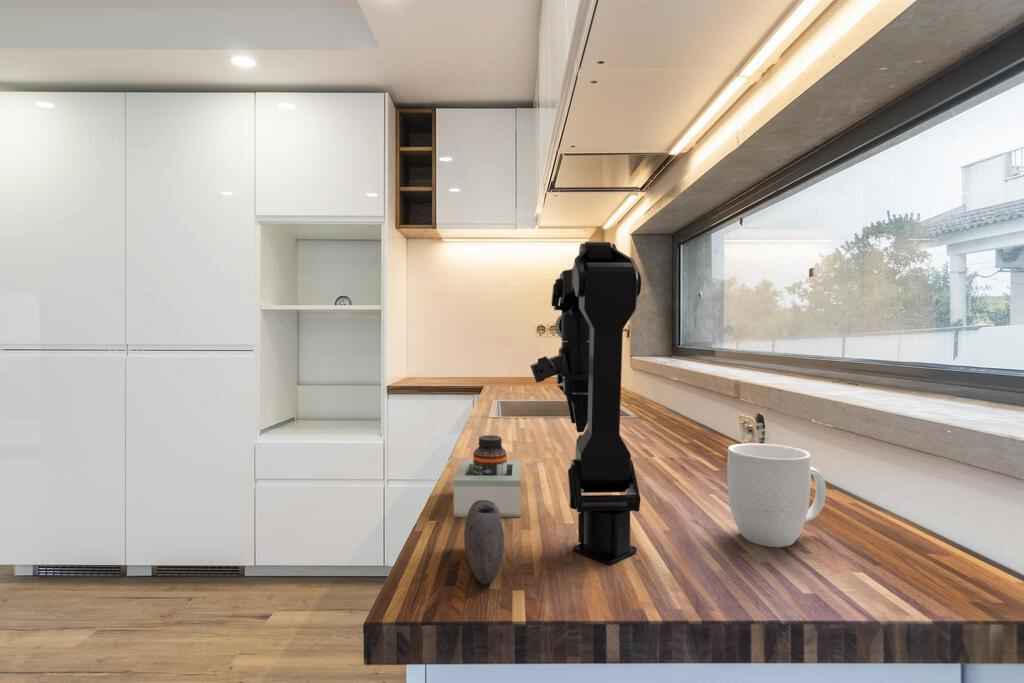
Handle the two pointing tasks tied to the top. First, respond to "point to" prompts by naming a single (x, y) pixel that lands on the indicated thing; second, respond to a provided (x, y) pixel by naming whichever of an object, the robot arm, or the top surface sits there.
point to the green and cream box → (488, 490)
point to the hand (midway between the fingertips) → (577, 427)
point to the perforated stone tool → (484, 540)
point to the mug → (772, 492)
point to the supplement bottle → (490, 457)
